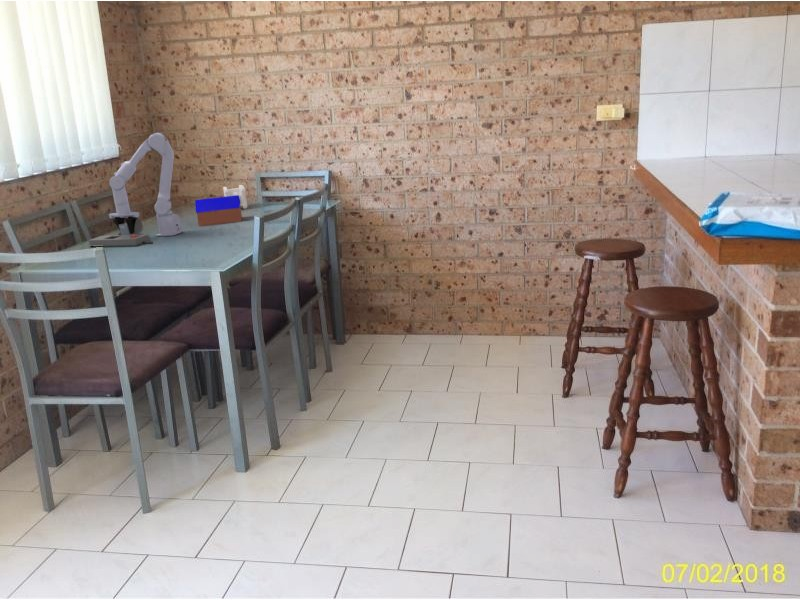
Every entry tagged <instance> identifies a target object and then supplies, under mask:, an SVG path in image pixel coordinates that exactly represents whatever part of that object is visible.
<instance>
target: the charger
mask: <svg viewBox="0 0 800 600" xmlns="http://www.w3.org/2000/svg"><path fill="white" fill-rule="evenodd" d="M119 228H120V230H119V233H121V235H134V233H133V234H130V232H129V228H128V225H127V223H122V224H120V225H119ZM119 228H118V229H119Z"/></svg>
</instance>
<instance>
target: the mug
mask: <svg viewBox="0 0 800 600" xmlns="http://www.w3.org/2000/svg"><path fill="white" fill-rule="evenodd" d="M125 223H126V221H125ZM143 229H144V226H143V223H142V221H141V220H140V219H139V218H137V220H136V223H135V229H134V235H141V233H142V232H143ZM117 235H121V233H120V232H119V233H118V234H117Z"/></svg>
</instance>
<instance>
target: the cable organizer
mask: <svg viewBox="0 0 800 600" xmlns="http://www.w3.org/2000/svg"><path fill="white" fill-rule="evenodd" d="M222 191H223V195H224V196H223V197H227V196H235V195H239V199H240V203H241V204H240V207H241V206H242V208H243V209H244V210H247V209H248V201H247V195H246V191H247V190H246V187H245V186H244V185H243V184H239V185H238V187H235V188H234V187H233V188H228V187H227V186H223V187H222Z"/></svg>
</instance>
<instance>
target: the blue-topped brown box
mask: <svg viewBox="0 0 800 600" xmlns="http://www.w3.org/2000/svg"><path fill="white" fill-rule="evenodd" d="M194 203H195V214H196V215H197V216H196V218H197V223H198V227H204V226H214V225H221V224H222V225H223V224H231V223H235V222H237V223H238V222H242V220H243V219H242V218H243V216H242V209H241V208H242V207H241V206H240V204H241V203H240V199H239V195H235V196H227V197H224V196H222V197H221V196H219V197H212V198H211V197H210V198H201V199H195V200H194Z"/></svg>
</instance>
